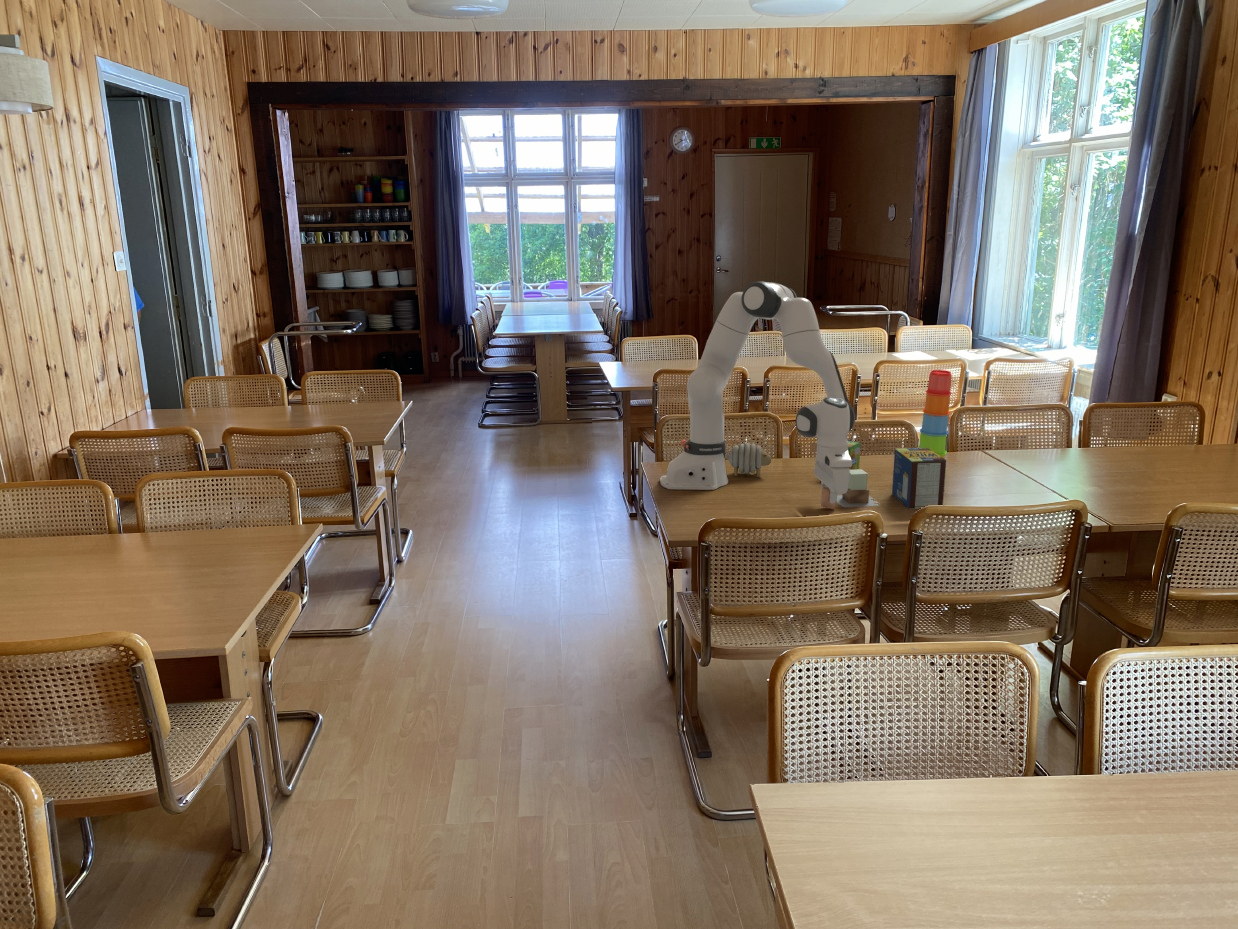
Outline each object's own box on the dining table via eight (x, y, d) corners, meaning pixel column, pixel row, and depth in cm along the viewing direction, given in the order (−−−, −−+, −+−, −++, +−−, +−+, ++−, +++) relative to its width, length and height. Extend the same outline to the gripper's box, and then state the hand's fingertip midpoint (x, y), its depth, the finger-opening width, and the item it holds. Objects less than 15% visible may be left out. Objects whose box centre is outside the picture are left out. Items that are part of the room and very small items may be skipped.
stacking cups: (940, 467, 310) (949, 368, 301) (948, 476, 301) (957, 373, 292) (910, 467, 311) (917, 368, 302) (916, 475, 302) (924, 373, 293)
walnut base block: (849, 503, 270) (849, 491, 269) (842, 497, 276) (842, 485, 275) (868, 502, 271) (869, 490, 270) (861, 497, 276) (861, 484, 275)
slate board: (842, 509, 267) (842, 507, 267) (829, 498, 279) (829, 495, 278) (881, 508, 268) (881, 505, 268) (866, 496, 280) (867, 493, 280)
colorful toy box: (848, 481, 296) (851, 438, 292) (822, 477, 301) (824, 434, 297) (860, 475, 303) (862, 432, 299) (834, 471, 308) (836, 429, 304)
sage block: (850, 490, 270) (851, 474, 268) (845, 485, 274) (845, 469, 273) (866, 489, 270) (867, 473, 269) (860, 485, 275) (861, 469, 274)
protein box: (924, 495, 280) (927, 447, 276) (943, 510, 265) (947, 459, 261) (890, 496, 280) (894, 447, 276) (907, 511, 265) (911, 460, 261)
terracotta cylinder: (823, 508, 263) (824, 491, 262) (818, 503, 267) (819, 487, 266) (838, 507, 263) (839, 491, 262) (833, 503, 268) (834, 487, 266)
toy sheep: (771, 479, 300) (772, 447, 297) (720, 478, 301) (721, 446, 298) (769, 471, 310) (770, 439, 307) (720, 470, 311) (720, 439, 308)
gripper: (810, 445, 271) (808, 489, 274) (832, 463, 251) (829, 510, 255) (831, 445, 271) (828, 488, 275) (854, 462, 252) (850, 510, 255)
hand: (828, 499), depth 265 cm, fingers closed on terracotta cylinder, 4 cm apart
